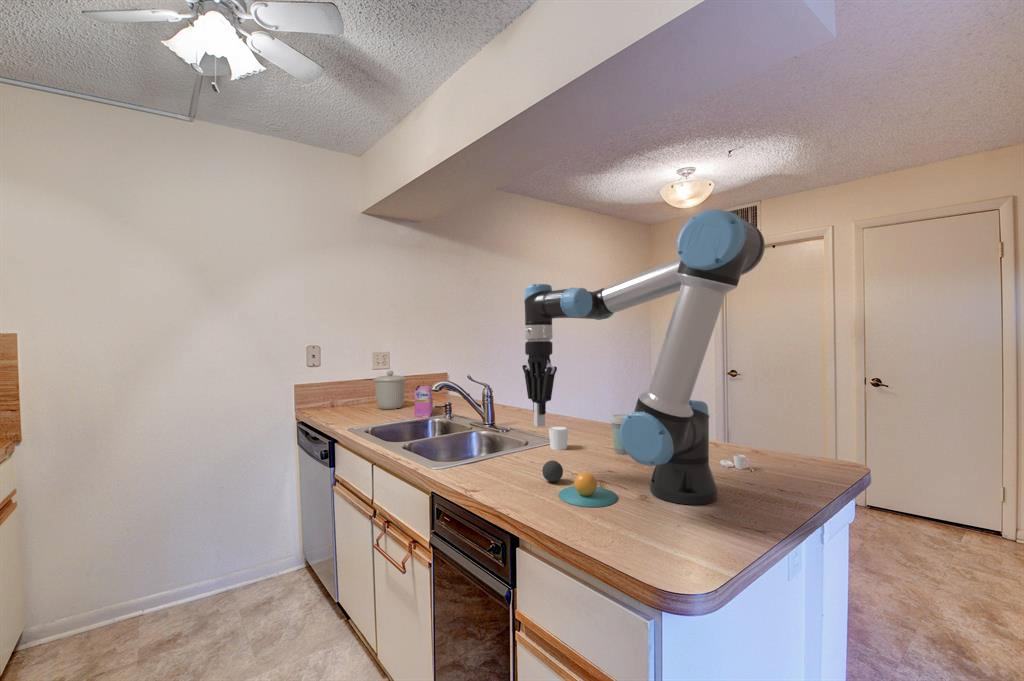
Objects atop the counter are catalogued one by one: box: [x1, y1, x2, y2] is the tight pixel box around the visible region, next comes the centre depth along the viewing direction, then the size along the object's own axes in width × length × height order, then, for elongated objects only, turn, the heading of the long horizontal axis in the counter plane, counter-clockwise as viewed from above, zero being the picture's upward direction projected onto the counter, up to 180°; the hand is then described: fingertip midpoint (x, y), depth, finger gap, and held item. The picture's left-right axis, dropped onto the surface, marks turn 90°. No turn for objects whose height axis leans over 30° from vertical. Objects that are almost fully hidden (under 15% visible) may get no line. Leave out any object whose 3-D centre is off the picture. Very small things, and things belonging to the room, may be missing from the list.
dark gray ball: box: [541, 459, 564, 483], centre depth 116 cm, size 6×6×6 cm
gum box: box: [413, 384, 434, 418], centre depth 227 cm, size 24×8×14 cm, turn 7°
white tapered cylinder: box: [548, 425, 569, 451], centre depth 152 cm, size 7×7×7 cm
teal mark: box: [558, 486, 619, 508], centre depth 105 cm, size 14×14×1 cm
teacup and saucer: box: [719, 453, 751, 470], centre depth 127 cm, size 9×8×4 cm
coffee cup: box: [610, 413, 629, 455], centre depth 145 cm, size 8×8×12 cm
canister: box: [372, 370, 407, 410], centre depth 245 cm, size 18×18×21 cm
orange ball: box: [573, 471, 598, 496], centre depth 106 cm, size 6×6×6 cm
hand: (539, 425), depth 121 cm, fingers closed
